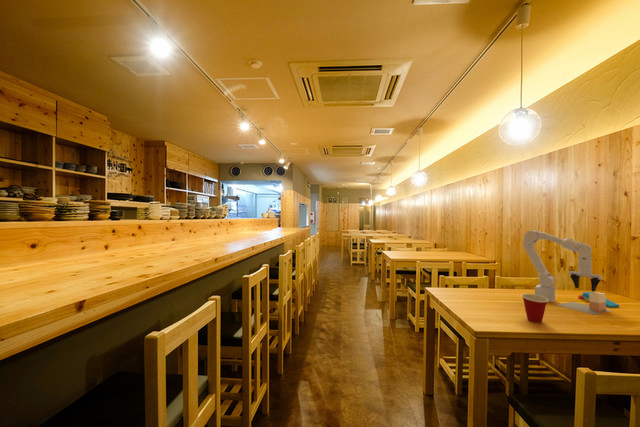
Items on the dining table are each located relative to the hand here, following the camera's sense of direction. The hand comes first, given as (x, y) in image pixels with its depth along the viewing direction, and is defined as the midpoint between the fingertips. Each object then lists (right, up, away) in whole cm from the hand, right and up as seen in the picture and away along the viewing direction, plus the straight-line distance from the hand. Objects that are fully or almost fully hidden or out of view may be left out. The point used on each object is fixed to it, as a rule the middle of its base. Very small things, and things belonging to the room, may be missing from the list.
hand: (585, 289), depth 164 cm
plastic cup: (-44, -10, -21) cm, 50 cm away
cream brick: (+1, -5, -6) cm, 8 cm away
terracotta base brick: (+1, -10, -6) cm, 11 cm away
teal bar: (+13, -11, +8) cm, 19 cm away
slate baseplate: (-4, -10, -3) cm, 11 cm away
